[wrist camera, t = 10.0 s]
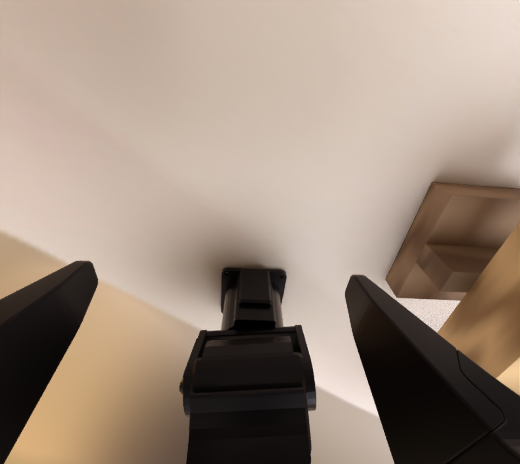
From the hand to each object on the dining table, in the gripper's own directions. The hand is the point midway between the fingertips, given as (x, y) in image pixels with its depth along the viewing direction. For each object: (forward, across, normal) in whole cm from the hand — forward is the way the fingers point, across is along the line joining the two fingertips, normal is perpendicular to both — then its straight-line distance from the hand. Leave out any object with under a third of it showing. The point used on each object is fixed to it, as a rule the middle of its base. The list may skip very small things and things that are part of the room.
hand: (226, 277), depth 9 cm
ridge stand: (+13, -20, +6) cm, 25 cm away
